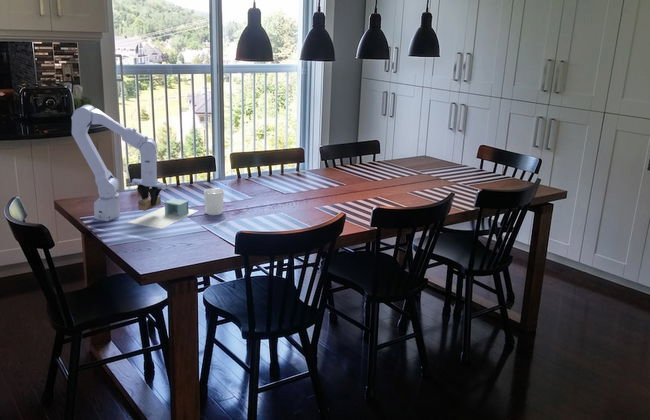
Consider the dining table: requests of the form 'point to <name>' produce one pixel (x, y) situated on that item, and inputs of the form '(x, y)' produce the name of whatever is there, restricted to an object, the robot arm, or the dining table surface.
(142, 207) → the slat
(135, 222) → the board
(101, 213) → the robot arm
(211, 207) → the white cup
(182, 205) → the teal block
